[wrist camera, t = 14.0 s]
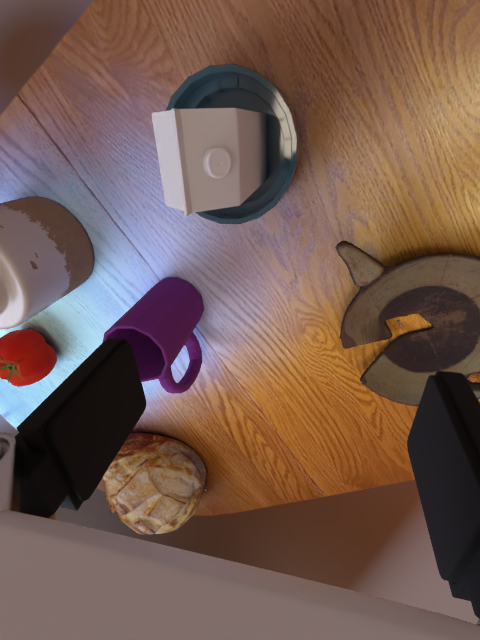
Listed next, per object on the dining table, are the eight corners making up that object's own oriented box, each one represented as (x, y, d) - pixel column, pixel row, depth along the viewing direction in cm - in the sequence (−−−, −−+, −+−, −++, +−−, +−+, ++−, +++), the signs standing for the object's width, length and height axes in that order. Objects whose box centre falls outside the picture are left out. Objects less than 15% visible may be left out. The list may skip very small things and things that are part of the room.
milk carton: (212, 181, 42) (144, 215, 26) (207, 116, 38) (125, 111, 23) (266, 180, 41) (229, 216, 25) (266, 113, 37) (223, 105, 21)
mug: (189, 268, 50) (144, 317, 38) (229, 348, 56) (202, 412, 44) (142, 285, 54) (87, 334, 41) (185, 358, 60) (148, 421, 47)
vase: (-7, 226, 54) (-122, 262, 40) (44, 175, 47) (-73, 196, 33) (58, 300, 59) (-24, 354, 45) (113, 263, 53) (36, 313, 39)
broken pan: (368, 398, 55) (374, 434, 49) (303, 239, 44) (300, 258, 37) (529, 369, 46) (562, 408, 40) (500, 158, 35) (539, 166, 29)
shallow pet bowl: (172, 78, 38) (148, 71, 33) (304, 67, 35) (300, 57, 30) (187, 212, 46) (171, 223, 41) (297, 213, 42) (293, 225, 37)
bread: (145, 492, 91) (119, 553, 79) (93, 429, 77) (52, 493, 65) (227, 493, 83) (212, 562, 71) (185, 424, 69) (158, 495, 57)
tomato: (61, 372, 70) (30, 401, 62) (14, 347, 69) (-22, 374, 62) (68, 338, 64) (36, 366, 57) (17, 311, 63) (-22, 335, 56)
